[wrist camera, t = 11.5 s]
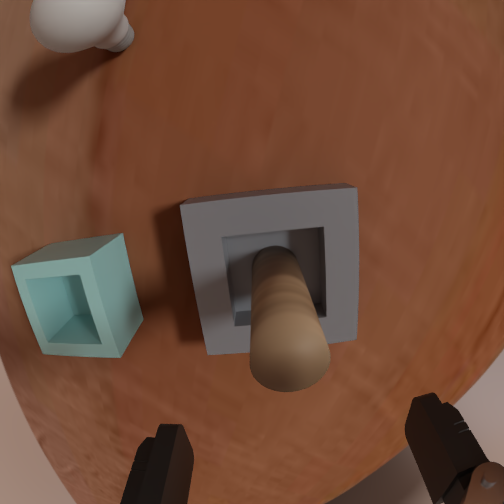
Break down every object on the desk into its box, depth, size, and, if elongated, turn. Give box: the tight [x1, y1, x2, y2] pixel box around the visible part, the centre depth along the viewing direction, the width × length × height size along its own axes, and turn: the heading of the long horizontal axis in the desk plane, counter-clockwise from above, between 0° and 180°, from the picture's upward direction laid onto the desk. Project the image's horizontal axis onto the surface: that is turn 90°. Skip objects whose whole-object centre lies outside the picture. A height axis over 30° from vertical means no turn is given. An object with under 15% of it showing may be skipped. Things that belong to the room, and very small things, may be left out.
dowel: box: [250, 245, 330, 392], centre depth 19 cm, size 4×4×12 cm
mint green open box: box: [11, 233, 143, 358], centre depth 23 cm, size 8×8×6 cm
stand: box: [180, 183, 359, 355], centre depth 24 cm, size 12×12×3 cm
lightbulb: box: [30, 0, 134, 53], centre depth 15 cm, size 6×6×11 cm
